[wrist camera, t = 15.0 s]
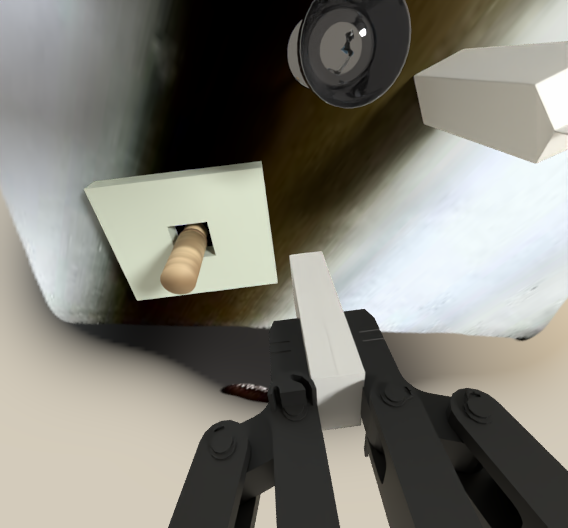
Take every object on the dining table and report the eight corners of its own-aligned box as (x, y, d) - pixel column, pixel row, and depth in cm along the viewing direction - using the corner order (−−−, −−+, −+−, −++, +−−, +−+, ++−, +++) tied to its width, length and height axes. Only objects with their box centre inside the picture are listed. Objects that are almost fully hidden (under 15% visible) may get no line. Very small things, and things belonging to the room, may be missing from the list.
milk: (412, 75, 36) (574, 85, 18) (463, 48, 35) (694, 27, 16) (423, 125, 39) (570, 177, 21) (470, 101, 38) (670, 134, 20)
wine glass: (368, 43, 34) (434, 30, 21) (323, 108, 37) (358, 130, 25) (313, -14, 31) (352, -67, 18) (269, 63, 34) (277, 62, 22)
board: (94, 181, 40) (83, 189, 37) (261, 161, 40) (261, 167, 38) (143, 288, 50) (137, 300, 47) (276, 272, 50) (277, 283, 47)
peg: (178, 221, 44) (155, 268, 34) (206, 218, 44) (191, 264, 34) (185, 245, 46) (166, 296, 36) (212, 242, 46) (199, 292, 36)
